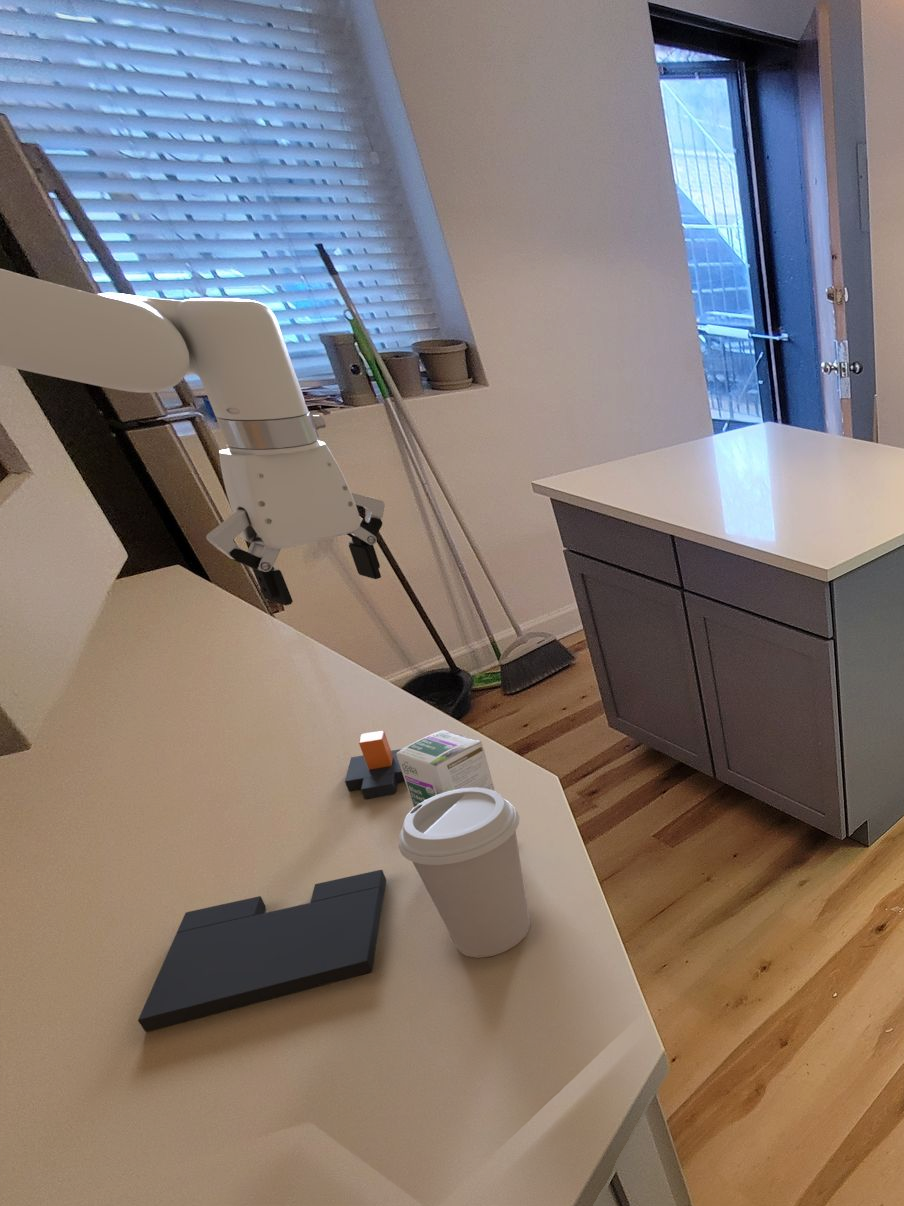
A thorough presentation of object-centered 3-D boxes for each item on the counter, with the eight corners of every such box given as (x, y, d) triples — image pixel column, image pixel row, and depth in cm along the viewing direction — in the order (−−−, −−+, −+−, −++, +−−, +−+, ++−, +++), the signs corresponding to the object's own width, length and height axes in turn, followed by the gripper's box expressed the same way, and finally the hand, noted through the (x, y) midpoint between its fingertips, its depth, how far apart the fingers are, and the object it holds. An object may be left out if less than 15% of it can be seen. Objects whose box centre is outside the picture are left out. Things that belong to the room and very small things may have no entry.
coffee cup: (503, 888, 84) (468, 772, 76) (568, 920, 80) (537, 801, 73) (415, 947, 76) (367, 823, 69) (482, 984, 73) (439, 859, 65)
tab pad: (345, 803, 95) (330, 765, 92) (354, 766, 101) (340, 730, 98) (414, 790, 98) (401, 753, 95) (418, 756, 104) (406, 720, 101)
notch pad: (145, 1032, 66) (137, 1020, 66) (191, 923, 77) (185, 912, 76) (372, 972, 73) (367, 960, 73) (386, 879, 84) (382, 869, 83)
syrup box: (429, 864, 86) (390, 752, 79) (475, 833, 91) (442, 726, 84) (469, 878, 85) (432, 766, 78) (513, 846, 90) (483, 738, 83)
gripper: (333, 418, 90) (381, 562, 98) (146, 441, 76) (220, 606, 84) (377, 426, 87) (422, 573, 96) (192, 451, 73) (263, 621, 82)
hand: (327, 588), depth 90 cm, fingers open, 9 cm apart
